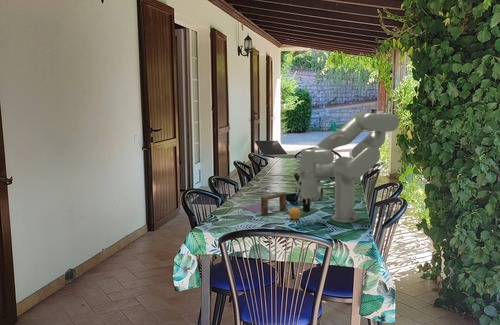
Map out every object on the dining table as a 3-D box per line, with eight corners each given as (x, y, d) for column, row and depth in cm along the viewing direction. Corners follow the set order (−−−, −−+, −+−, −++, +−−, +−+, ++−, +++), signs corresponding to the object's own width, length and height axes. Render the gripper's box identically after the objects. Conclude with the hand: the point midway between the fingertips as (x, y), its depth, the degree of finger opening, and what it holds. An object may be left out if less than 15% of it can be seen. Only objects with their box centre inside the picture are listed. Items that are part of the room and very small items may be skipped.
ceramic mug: (310, 197, 274) (310, 184, 272) (323, 197, 271) (323, 185, 270) (306, 201, 264) (306, 188, 263) (319, 202, 261) (319, 189, 260)
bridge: (286, 211, 242) (285, 193, 240) (264, 216, 233) (264, 198, 231) (282, 210, 244) (282, 192, 243) (261, 215, 235) (260, 197, 234)
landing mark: (273, 208, 248) (273, 208, 248) (255, 212, 240) (255, 212, 240) (258, 204, 258) (258, 203, 258) (240, 208, 250) (240, 207, 250)
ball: (303, 219, 226) (303, 207, 225) (294, 221, 222) (294, 209, 221) (294, 217, 230) (294, 205, 229) (286, 219, 227) (286, 207, 226)
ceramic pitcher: (337, 183, 317) (340, 148, 314) (309, 181, 318) (312, 147, 314) (332, 178, 339) (334, 145, 335) (306, 176, 339) (308, 143, 335)
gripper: (302, 177, 207) (300, 215, 210) (324, 174, 217) (322, 211, 219) (291, 174, 213) (289, 212, 216) (312, 172, 223) (311, 208, 225)
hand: (306, 211), depth 218 cm, fingers closed
